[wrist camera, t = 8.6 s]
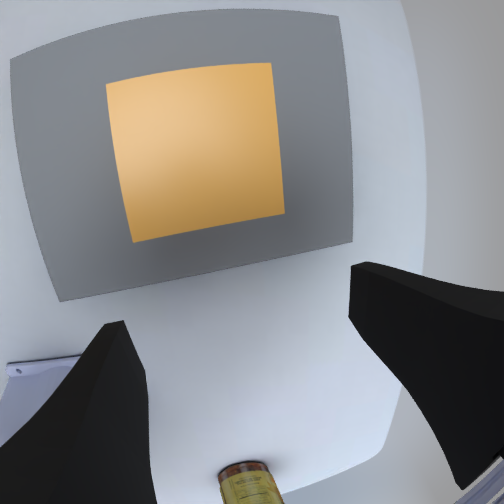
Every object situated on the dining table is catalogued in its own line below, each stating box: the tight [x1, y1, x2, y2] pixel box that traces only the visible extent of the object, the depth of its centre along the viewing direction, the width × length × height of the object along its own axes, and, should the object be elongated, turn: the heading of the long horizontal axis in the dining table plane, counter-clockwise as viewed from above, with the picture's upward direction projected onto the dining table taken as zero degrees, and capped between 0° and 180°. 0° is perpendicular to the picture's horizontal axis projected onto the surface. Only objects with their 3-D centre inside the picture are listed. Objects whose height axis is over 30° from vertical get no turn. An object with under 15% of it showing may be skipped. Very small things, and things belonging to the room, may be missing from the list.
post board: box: [10, 9, 353, 302], centre depth 13 cm, size 18×14×5 cm
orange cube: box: [106, 63, 285, 243], centre depth 12 cm, size 6×6×5 cm
